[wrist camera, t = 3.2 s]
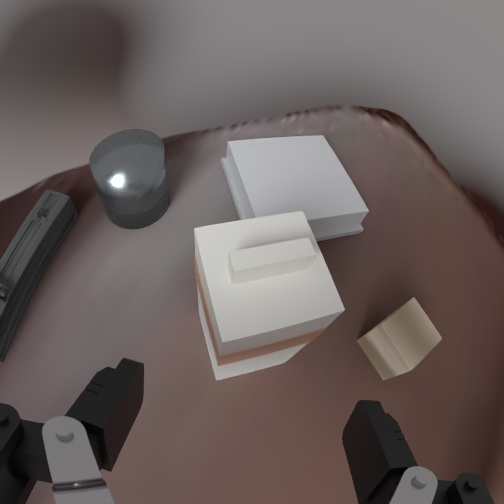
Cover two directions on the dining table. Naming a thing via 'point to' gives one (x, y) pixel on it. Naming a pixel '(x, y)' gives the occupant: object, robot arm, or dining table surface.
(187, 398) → the dining table surface
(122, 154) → the tin
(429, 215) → the dining table surface
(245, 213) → the podium
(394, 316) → the block
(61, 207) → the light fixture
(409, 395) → the dining table surface
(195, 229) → the carton
